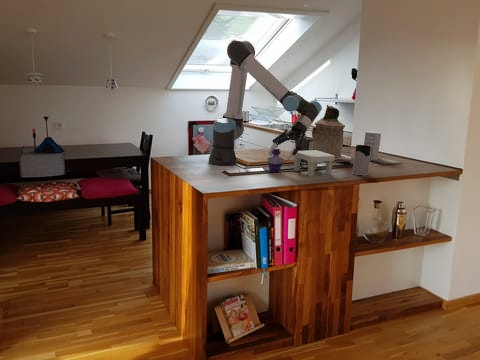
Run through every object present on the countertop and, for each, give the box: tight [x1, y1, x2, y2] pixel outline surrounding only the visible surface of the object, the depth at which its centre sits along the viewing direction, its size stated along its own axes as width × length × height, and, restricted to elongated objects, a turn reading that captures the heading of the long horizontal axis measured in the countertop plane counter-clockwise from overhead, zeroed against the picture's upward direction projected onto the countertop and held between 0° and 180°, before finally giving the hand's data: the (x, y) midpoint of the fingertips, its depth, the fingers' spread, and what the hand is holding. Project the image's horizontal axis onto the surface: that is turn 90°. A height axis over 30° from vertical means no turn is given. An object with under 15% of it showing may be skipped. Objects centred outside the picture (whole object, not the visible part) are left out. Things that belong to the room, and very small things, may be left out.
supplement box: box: [363, 130, 382, 161], centre depth 284 cm, size 10×9×17 cm
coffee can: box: [299, 136, 315, 165], centre depth 260 cm, size 10×10×14 cm
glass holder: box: [351, 144, 373, 176], centre depth 241 cm, size 9×14×15 cm, turn 135°
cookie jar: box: [311, 104, 352, 161], centre depth 280 cm, size 25×25×32 cm
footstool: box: [293, 150, 336, 177], centre depth 237 cm, size 15×15×10 cm
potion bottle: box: [266, 147, 285, 174], centre depth 233 cm, size 9×9×12 cm
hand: (278, 156), depth 233 cm, fingers open, 13 cm apart
